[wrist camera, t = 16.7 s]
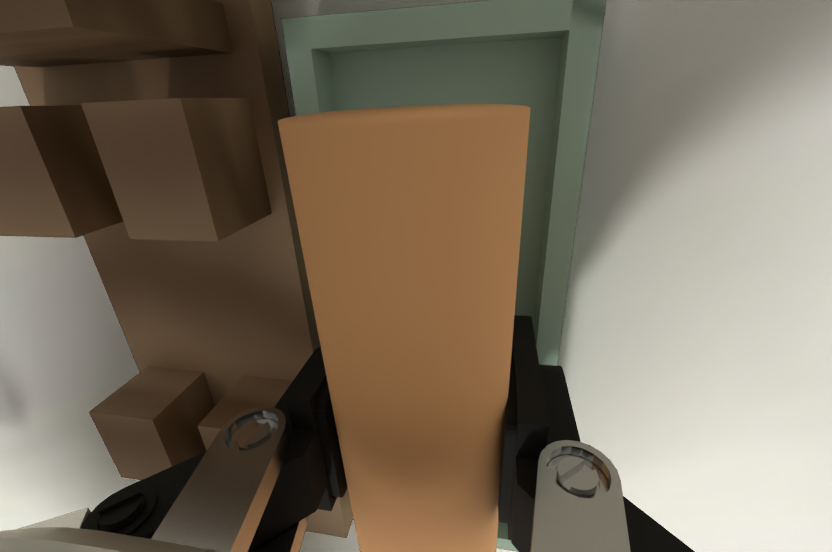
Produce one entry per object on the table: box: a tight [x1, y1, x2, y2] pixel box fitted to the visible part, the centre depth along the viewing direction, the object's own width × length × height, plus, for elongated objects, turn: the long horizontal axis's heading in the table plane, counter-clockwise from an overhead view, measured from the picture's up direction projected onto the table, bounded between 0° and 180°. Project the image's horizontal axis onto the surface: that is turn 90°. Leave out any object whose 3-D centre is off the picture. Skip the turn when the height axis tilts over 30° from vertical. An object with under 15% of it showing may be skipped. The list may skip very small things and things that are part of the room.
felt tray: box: [281, 0, 606, 552], centre depth 12 cm, size 17×7×2 cm, turn 2°
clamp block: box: [0, 0, 353, 538], centre depth 12 cm, size 23×7×5 cm, turn 2°
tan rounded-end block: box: [278, 104, 530, 552], centre depth 9 cm, size 13×4×4 cm, turn 2°
